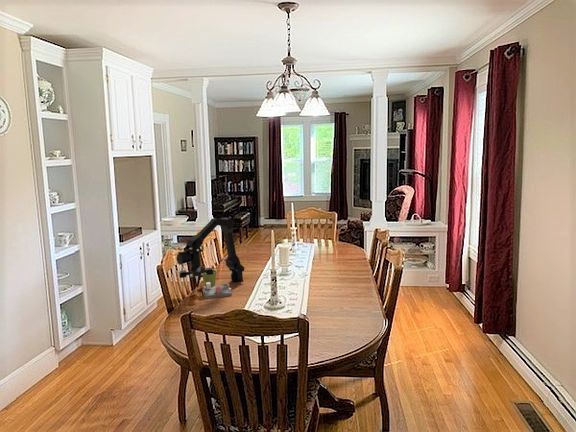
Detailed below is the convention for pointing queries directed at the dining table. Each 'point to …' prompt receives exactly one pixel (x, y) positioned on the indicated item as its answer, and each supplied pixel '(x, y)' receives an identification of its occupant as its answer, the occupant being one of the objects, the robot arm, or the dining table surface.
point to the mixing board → (212, 292)
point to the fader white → (208, 285)
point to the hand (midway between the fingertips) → (197, 287)
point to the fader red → (218, 289)
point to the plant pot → (210, 278)
